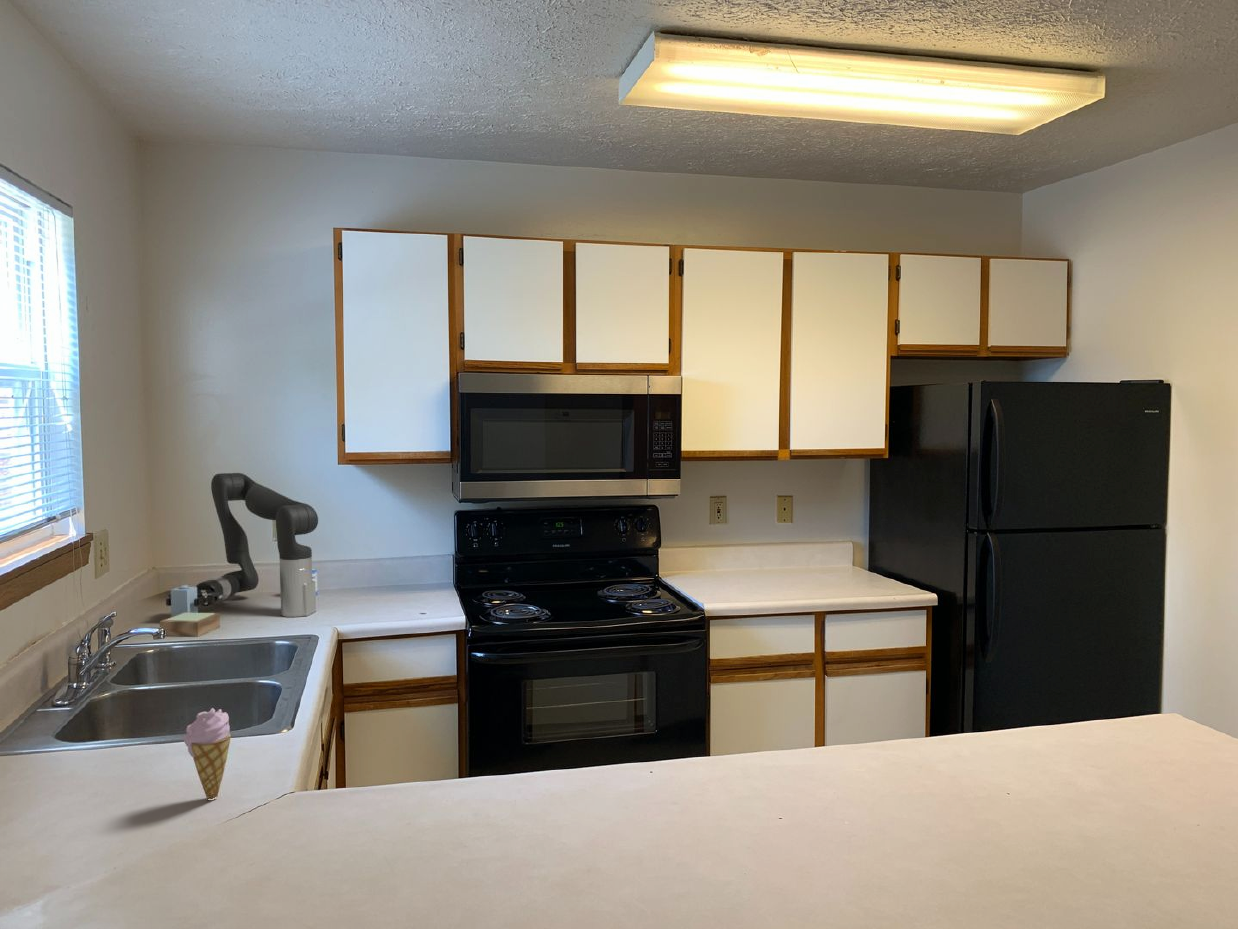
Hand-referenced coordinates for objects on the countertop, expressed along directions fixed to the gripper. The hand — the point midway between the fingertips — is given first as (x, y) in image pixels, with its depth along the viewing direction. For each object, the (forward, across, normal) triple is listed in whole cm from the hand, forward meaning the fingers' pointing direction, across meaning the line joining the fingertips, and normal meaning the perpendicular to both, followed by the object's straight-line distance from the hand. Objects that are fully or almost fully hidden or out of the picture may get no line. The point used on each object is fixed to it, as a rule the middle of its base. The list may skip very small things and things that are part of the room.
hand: (181, 602), depth 257 cm
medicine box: (-40, +18, +6) cm, 44 cm away
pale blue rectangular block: (-1, 0, +6) cm, 6 cm away
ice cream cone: (+109, +74, +6) cm, 132 cm away
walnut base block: (+8, +8, +6) cm, 13 cm away
